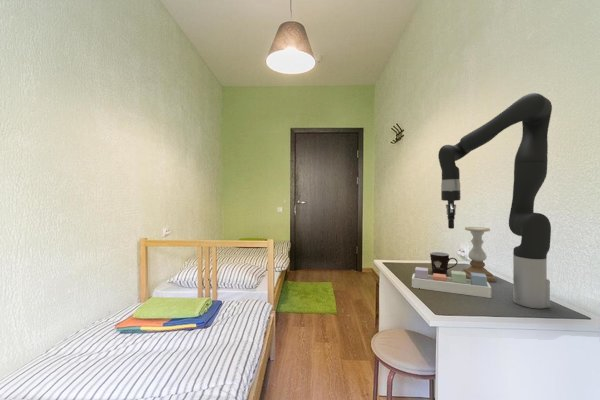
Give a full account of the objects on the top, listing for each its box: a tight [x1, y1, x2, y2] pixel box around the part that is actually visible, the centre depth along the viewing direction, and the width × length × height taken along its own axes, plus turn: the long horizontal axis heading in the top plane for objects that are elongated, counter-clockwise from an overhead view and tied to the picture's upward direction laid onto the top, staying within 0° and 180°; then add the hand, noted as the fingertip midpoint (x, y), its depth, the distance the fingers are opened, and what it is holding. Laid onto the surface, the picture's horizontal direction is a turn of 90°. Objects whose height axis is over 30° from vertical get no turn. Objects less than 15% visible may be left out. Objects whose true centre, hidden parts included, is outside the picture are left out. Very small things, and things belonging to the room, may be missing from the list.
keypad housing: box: [411, 273, 492, 299], centre depth 115 cm, size 28×8×4 cm, turn 63°
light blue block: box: [471, 273, 487, 287], centre depth 110 cm, size 5×5×4 cm
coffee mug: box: [429, 251, 458, 276], centre depth 137 cm, size 12×9×10 cm
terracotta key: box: [432, 272, 447, 282], centre depth 116 cm, size 5×5×4 cm
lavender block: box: [414, 266, 429, 280], centre depth 119 cm, size 5×5×4 cm
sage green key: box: [450, 270, 466, 284], centre depth 113 cm, size 5×5×4 cm
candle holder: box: [460, 226, 496, 283], centre depth 130 cm, size 11×11×24 cm
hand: (451, 228), depth 123 cm, fingers closed
